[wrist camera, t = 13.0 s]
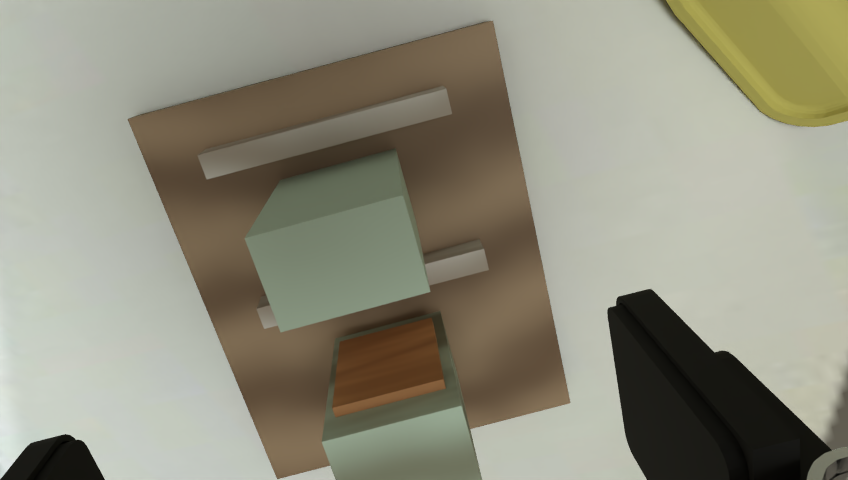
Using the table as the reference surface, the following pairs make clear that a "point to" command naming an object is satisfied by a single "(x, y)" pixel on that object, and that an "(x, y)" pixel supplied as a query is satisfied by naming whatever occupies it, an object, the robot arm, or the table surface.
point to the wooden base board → (390, 323)
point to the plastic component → (778, 53)
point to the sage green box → (338, 242)
